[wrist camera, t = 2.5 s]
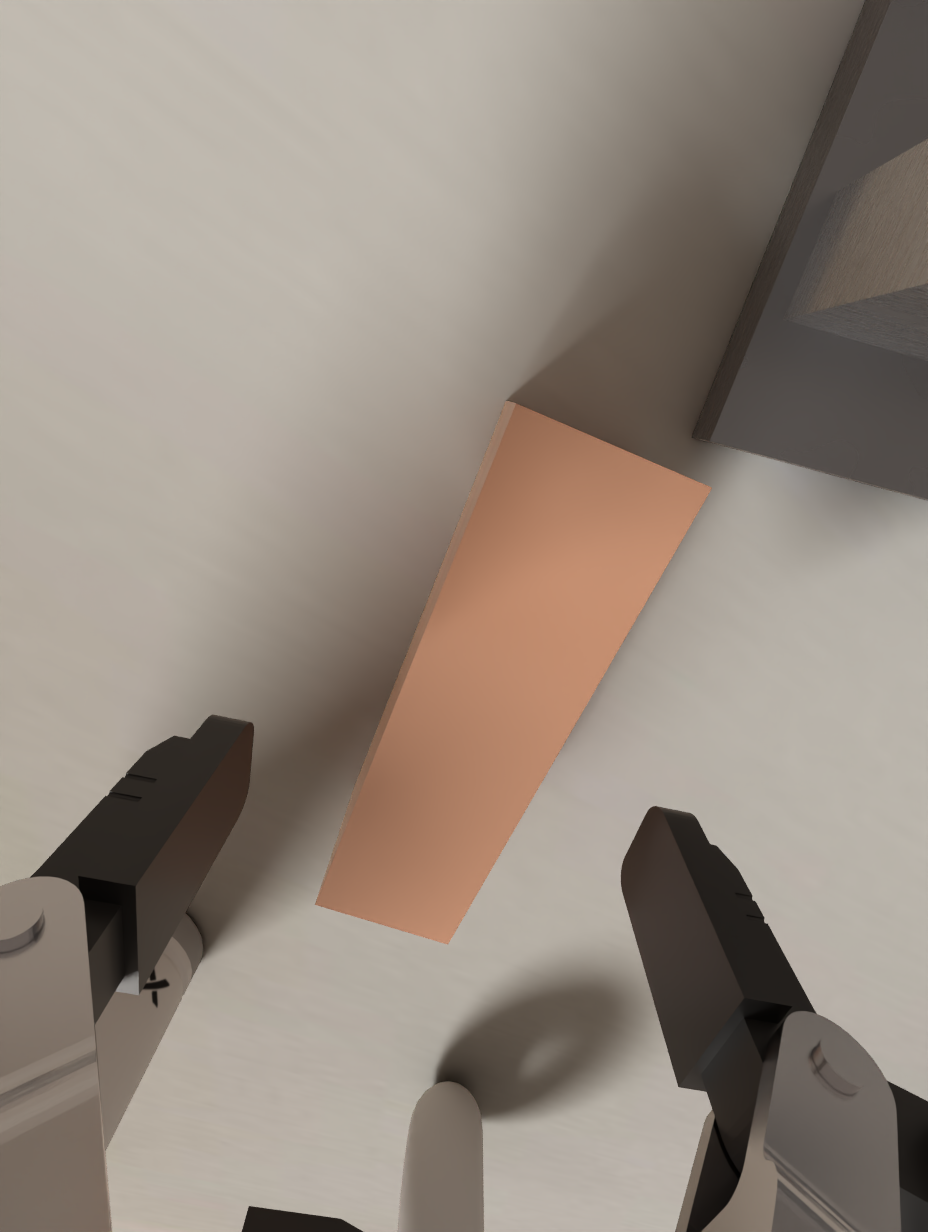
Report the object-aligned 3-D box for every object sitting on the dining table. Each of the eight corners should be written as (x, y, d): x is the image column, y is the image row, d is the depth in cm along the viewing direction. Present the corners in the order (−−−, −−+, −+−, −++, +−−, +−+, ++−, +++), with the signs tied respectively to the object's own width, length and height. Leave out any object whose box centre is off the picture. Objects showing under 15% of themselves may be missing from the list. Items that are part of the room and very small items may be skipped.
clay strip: (639, 458, 14) (712, 487, 10) (456, 815, 20) (448, 944, 15) (505, 400, 14) (516, 403, 9) (355, 782, 19) (314, 904, 15)
